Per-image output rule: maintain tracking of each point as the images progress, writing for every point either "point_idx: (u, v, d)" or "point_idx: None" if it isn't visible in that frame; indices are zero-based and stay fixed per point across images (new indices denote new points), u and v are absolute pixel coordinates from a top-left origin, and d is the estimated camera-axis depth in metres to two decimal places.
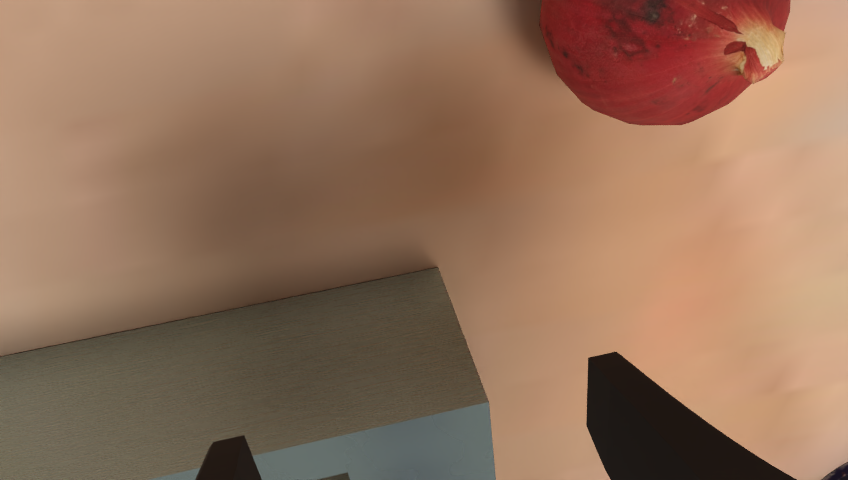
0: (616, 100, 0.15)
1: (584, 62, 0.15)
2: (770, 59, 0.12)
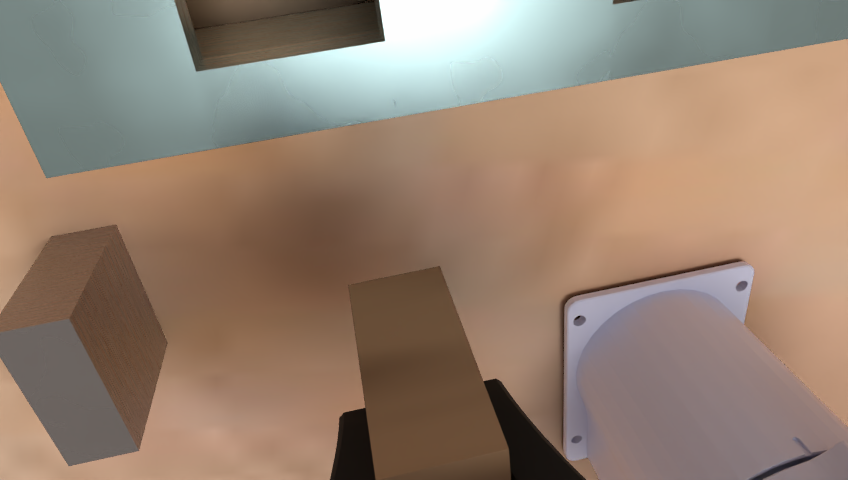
0: None
1: None
2: None
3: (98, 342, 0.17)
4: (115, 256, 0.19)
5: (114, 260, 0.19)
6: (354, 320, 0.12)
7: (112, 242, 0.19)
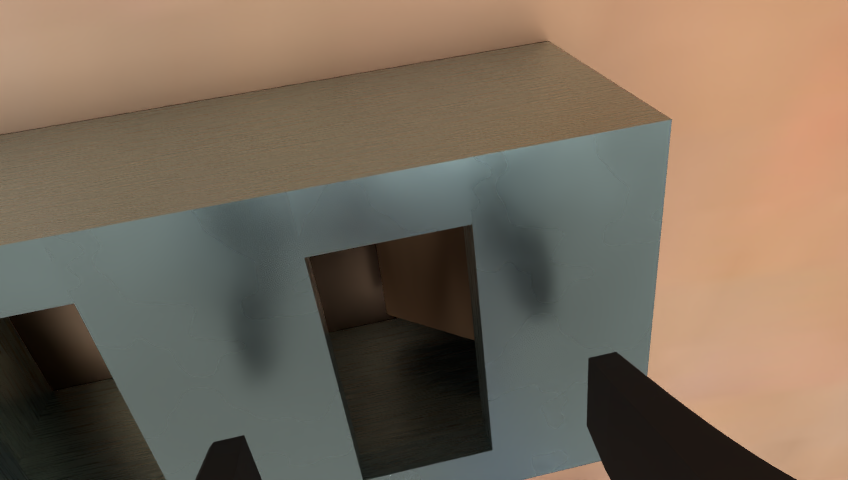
0: None
1: None
2: None
3: None
4: None
5: None
6: None
7: None
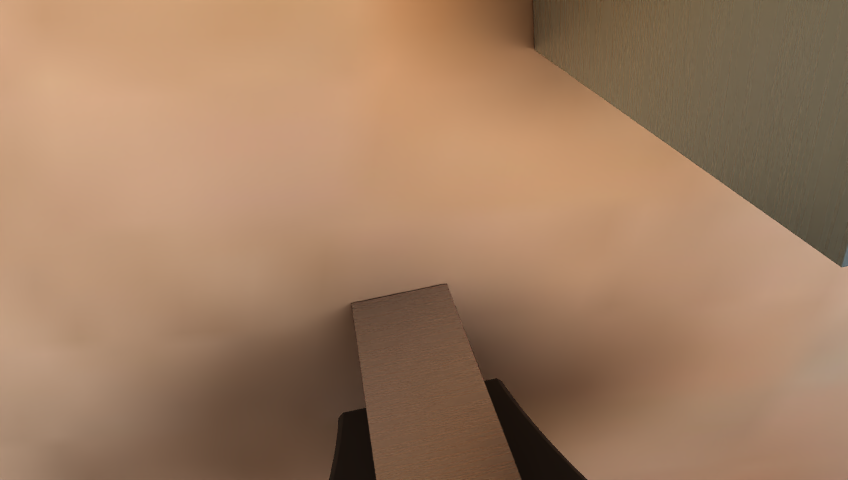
0: None
1: None
2: None
3: None
4: None
5: None
6: None
7: (457, 316, 0.12)
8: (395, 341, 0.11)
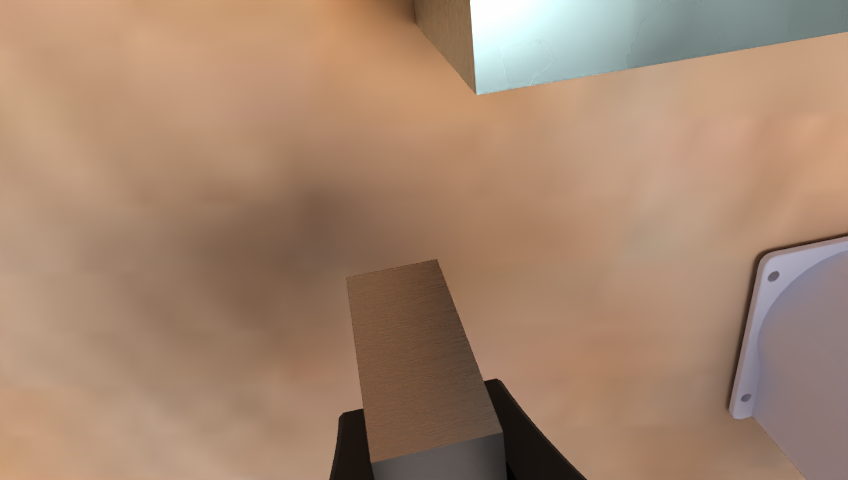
0: None
1: None
2: None
3: None
4: None
5: None
6: None
7: (446, 288, 0.13)
8: (387, 310, 0.12)
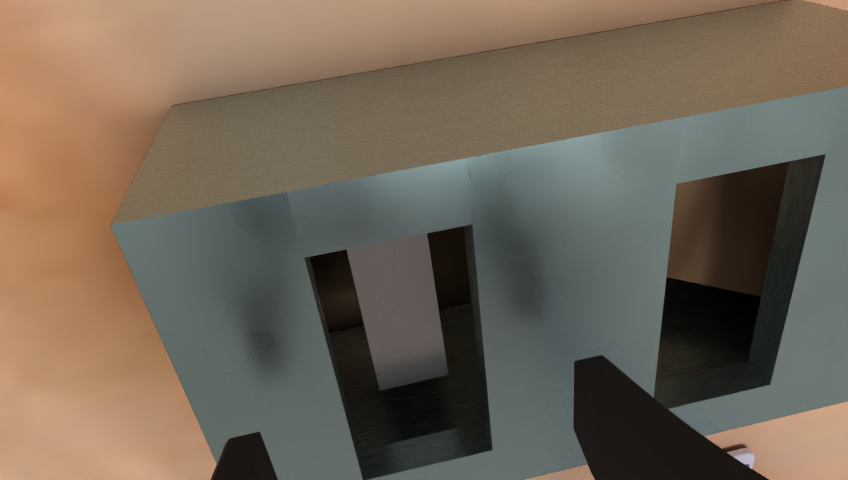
0: None
1: None
2: None
3: None
4: None
5: None
6: None
7: None
8: None
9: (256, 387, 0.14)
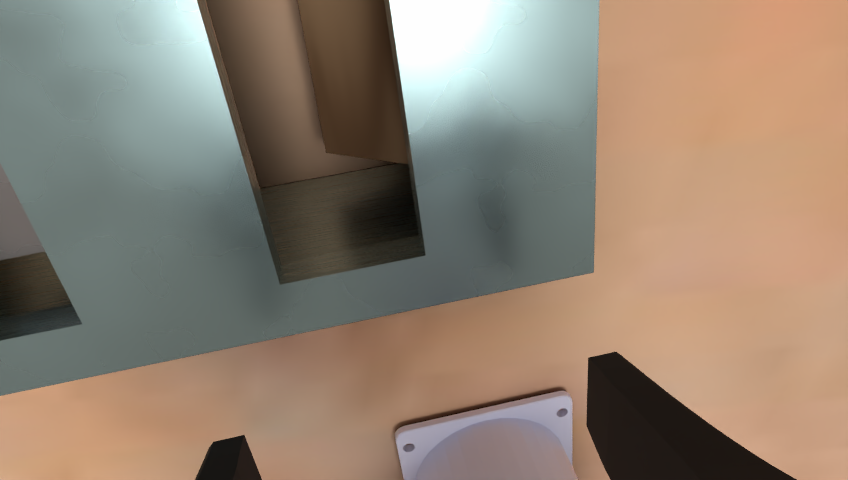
0: None
1: None
2: None
3: None
4: None
5: None
6: None
7: None
8: None
9: None
